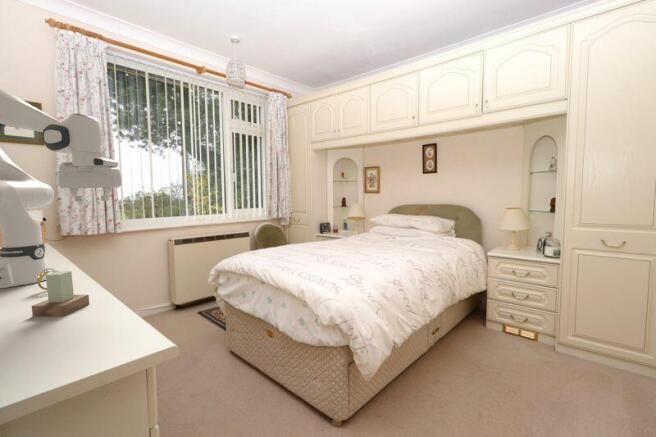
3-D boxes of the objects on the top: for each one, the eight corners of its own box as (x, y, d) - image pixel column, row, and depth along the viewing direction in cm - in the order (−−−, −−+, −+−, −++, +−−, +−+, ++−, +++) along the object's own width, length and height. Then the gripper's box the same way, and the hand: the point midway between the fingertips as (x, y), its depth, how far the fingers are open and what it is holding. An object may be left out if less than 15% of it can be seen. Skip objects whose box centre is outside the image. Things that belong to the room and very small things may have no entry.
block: (48, 302, 90) (45, 275, 89) (60, 297, 94) (57, 271, 93) (62, 302, 90) (59, 274, 89) (73, 297, 94) (71, 271, 93)
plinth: (32, 316, 88) (31, 305, 87) (60, 304, 97) (59, 295, 96) (64, 315, 88) (63, 305, 87) (89, 304, 97) (88, 294, 96)
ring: (38, 293, 107) (36, 270, 107) (37, 291, 109) (34, 269, 109) (65, 288, 113) (62, 266, 112) (62, 286, 115) (60, 265, 114)
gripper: (51, 161, 108) (55, 201, 109) (110, 160, 108) (113, 200, 109) (66, 162, 114) (69, 201, 115) (122, 162, 114) (125, 200, 115)
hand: (91, 201), depth 112 cm, fingers open, 8 cm apart
